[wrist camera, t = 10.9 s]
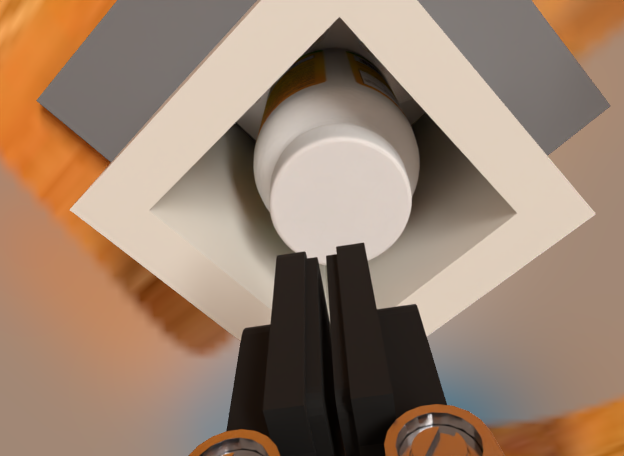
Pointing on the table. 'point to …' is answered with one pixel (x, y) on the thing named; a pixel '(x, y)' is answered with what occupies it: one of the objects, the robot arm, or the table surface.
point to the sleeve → (256, 218)
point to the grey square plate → (345, 39)
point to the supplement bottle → (335, 156)
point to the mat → (235, 3)
